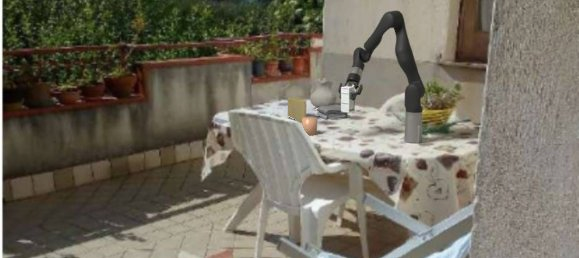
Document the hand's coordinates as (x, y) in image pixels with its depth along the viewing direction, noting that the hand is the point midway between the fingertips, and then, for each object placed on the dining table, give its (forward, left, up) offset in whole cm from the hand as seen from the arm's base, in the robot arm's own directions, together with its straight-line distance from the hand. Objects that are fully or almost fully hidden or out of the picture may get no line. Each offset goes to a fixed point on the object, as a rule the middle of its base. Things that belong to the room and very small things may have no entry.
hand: (346, 99), depth 329 cm
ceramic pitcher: (+53, -85, -23) cm, 103 cm away
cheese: (+49, -37, -24) cm, 66 cm away
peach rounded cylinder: (+24, -1, -23) cm, 34 cm away
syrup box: (0, -2, -8) cm, 8 cm away
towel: (+34, -59, -24) cm, 72 cm away
